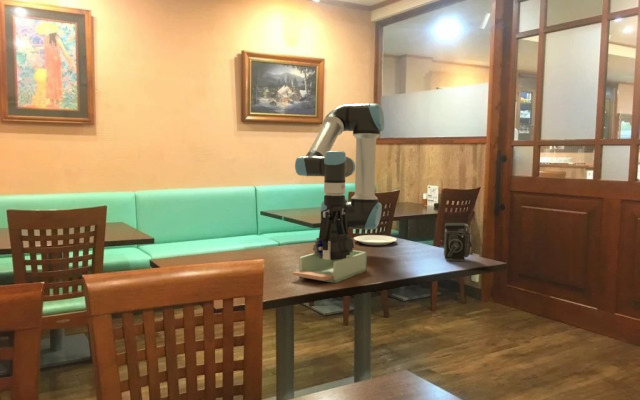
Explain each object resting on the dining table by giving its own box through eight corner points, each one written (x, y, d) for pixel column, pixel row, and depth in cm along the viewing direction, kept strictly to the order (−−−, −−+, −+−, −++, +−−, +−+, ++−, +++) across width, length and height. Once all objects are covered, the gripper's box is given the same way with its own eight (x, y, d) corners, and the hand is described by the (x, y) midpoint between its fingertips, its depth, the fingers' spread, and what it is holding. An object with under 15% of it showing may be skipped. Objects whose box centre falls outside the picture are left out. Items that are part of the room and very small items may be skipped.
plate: (387, 248, 233) (387, 243, 233) (346, 244, 243) (346, 239, 243) (402, 241, 252) (402, 237, 251) (364, 238, 262) (364, 233, 261)
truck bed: (299, 276, 178) (299, 257, 178) (332, 265, 196) (332, 247, 196) (335, 283, 170) (335, 262, 169) (366, 270, 188) (366, 252, 188)
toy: (322, 236, 190) (354, 232, 181) (326, 259, 190) (358, 256, 181) (308, 239, 184) (341, 235, 174) (311, 263, 183) (344, 260, 174)
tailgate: (303, 273, 178) (292, 275, 172) (303, 270, 178) (292, 272, 172) (333, 278, 171) (323, 280, 166) (334, 275, 171) (323, 277, 166)
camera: (471, 263, 203) (473, 226, 202) (444, 261, 205) (445, 225, 204) (469, 257, 213) (470, 222, 212) (443, 256, 215) (444, 221, 214)
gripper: (327, 196, 169) (326, 263, 171) (358, 193, 187) (357, 253, 189) (308, 195, 174) (308, 260, 175) (341, 192, 192) (340, 251, 193)
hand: (333, 256), depth 182 cm, fingers closed on toy, 9 cm apart
